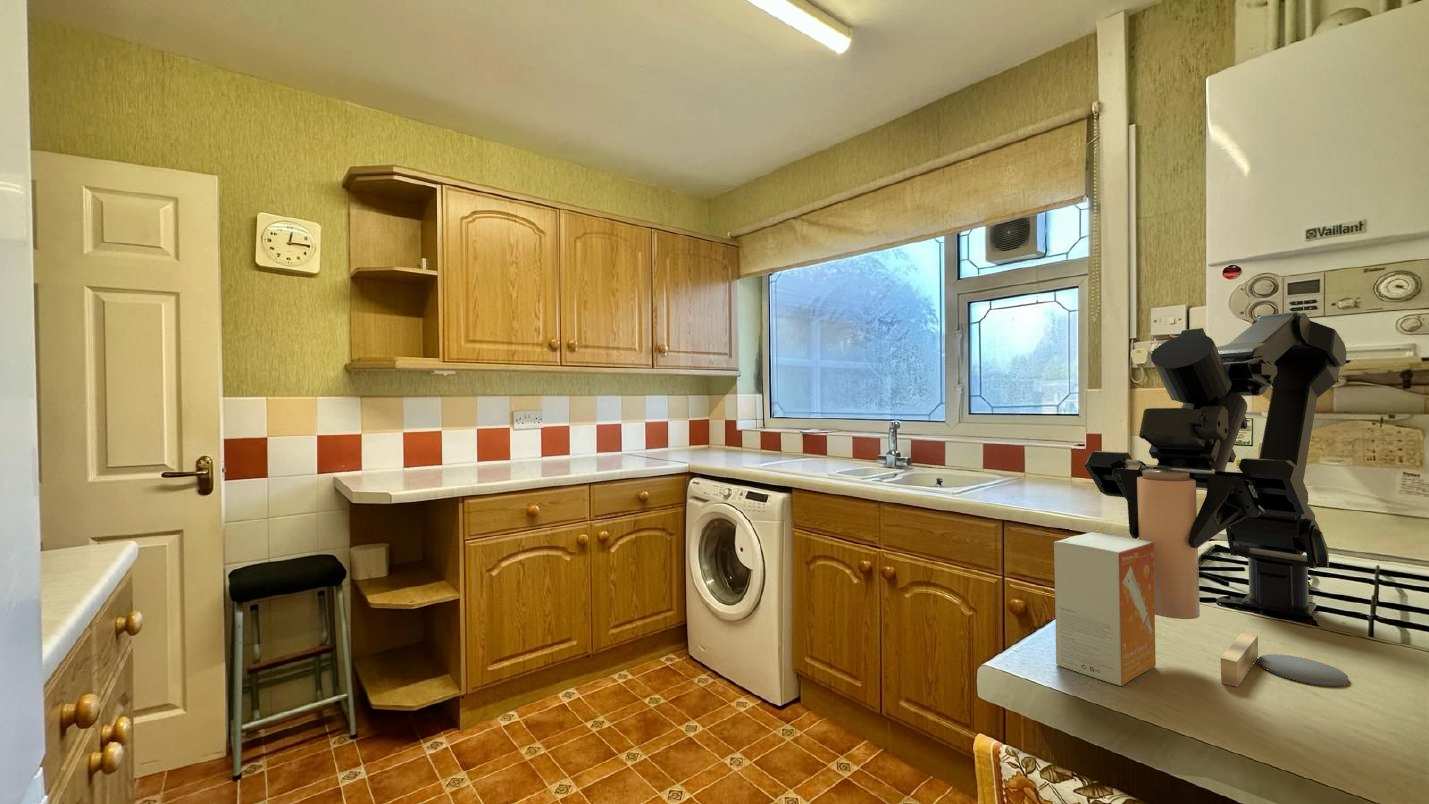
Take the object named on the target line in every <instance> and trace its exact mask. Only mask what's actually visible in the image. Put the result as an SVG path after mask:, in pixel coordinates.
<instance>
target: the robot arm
mask: <svg viewBox="0 0 1429 804" xmlns="http://www.w3.org/2000/svg"><path fill="white" fill-rule="evenodd" d="M1345 344H1346V343H1345V342H1344V341H1343V339H1342V338H1341V336H1340V334H1339V333H1338V332H1337V330H1336V329H1335V328H1332V327H1329V326H1327V325H1323V324H1321V323H1319V322H1316V321H1312V320H1311V319H1310V318H1309V316H1308V315H1307V314H1306V313H1305V312H1301V313H1299V312H1298V311H1291V312H1283V313H1282V312H1281V313H1273V314H1263V315H1261V316H1260V317H1256V318H1254V319H1253V321H1252V324H1251V325H1250V326H1249V327H1248V328H1246V329H1245V330H1244V331H1243V332H1241V333H1240V334H1239V335H1238V336H1236V337H1235V338H1234V339H1233V340H1231V341H1230V342H1229V343H1227V344H1224V345H1219V346H1216V343H1215V341H1214V340H1213V339H1212V337H1210V336H1208V335H1207V334H1206V332H1205V329H1204V328H1202V327H1201V328H1200V327H1199V328H1191V329H1190V328H1189V329H1182V330H1181V332H1180V334H1179V335H1178V336H1176V337H1173V338H1170V339H1168V340H1166V341H1163V342H1162V343H1161V344H1160V345H1159V346H1157V347H1156V348H1153V350H1152V352H1151V355H1150V359H1151V362H1152V364H1153V366H1154V368H1155V370H1156V372H1157V374H1158V376H1159V378H1160V380H1161V382H1162V384H1163V386H1164V388H1165V390H1166V392H1167V395H1168V396H1169V398H1170V399H1171V400H1172V401H1176V402H1179V403H1182V406H1181V407H1151V408H1144V410H1143V413H1142V419H1141V424H1140V427H1139V428H1140V429H1139V433H1138V437H1139V438H1140V439H1142V440H1145V441H1146V442H1147V443H1148V444H1150V448H1149V450H1148V453H1149V455H1150V457H1151V459H1152V460H1153V459H1154V460H1155V459H1156V460H1157V461H1158V462H1157V464H1149V463H1148V464H1147V463H1145V462H1144V461H1141V460H1140V459H1139V460H1138V459H1133V458H1132V456H1131V455H1130V453H1129V452H1125V451H1124V452H1123V451H1107V450H1106V451H1103V450H1098V451H1097V450H1095V451H1091V453H1090V454H1089V455H1088V457H1087V459H1086V461H1085V464H1084V467H1085V469H1086V470H1087V473H1089V475H1090V478H1091V479H1092V480H1093V482H1094V484H1095V485H1096V486H1097V489H1098V490H1099V492H1100V493H1102V494H1103V495H1105V496H1108V497H1116V498H1124V499H1125V500H1126V502H1127V514H1128V532H1129V535H1130V536H1131V538H1132V539H1139V532H1138V497H1137V477H1143V474H1142V470H1152V469H1159V470H1179V471H1187V472H1190V479H1194V480H1196V491H1206V495H1205V498H1204V500H1203V502H1202V505H1201V507H1200V509H1199V511H1198V512H1197V518H1196V520H1195V522H1194V524H1193V527H1192V529H1191V533H1190V536H1189V540H1188V542H1189V544H1190V546H1191V547H1192V548H1197V547H1198V548H1199V547H1200V546H1201V545H1204V543H1206V542H1208V541H1209V540H1210V539H1212V538H1214V537H1215V536H1217V535H1218V534H1219V533H1221V532H1223V531H1224V530H1225V533H1226V537H1227V543H1228V548H1229V553H1230V556H1234V557H1238V556H1239V557H1242V558H1243V557H1244V558H1247V559H1248V560H1247V562H1248V564H1247V565H1248V591H1249V593H1247V595H1246V596H1245V597H1244V598H1242V600H1241V605H1243V606H1246V607H1247V606H1248V607H1252V608H1256V609H1257V608H1258V609H1262V610H1268V611H1273V612H1279V613H1285V614H1289V615H1296V616H1301V617H1307V618H1310V617H1311V616H1312V614H1313V612H1315V609H1316V608H1317V603H1316V602H1313V601H1309V599H1310V598H1309V574H1308V573H1309V569H1308V568H1310V569H1318V568H1320V569H1321V568H1322V569H1323V568H1324V569H1328V568H1329V567H1330V560H1329V557H1330V556H1329V548H1328V546H1327V542H1326V541H1325V537H1324V533H1323V532H1322V531H1321V528H1320V527H1319V524H1318V522H1317V520H1316V514H1315V512H1314V511H1313V510H1312V507H1310V505H1309V492H1308V490H1307V489H1308V488H1307V487H1306V484H1305V481H1304V479H1305V473H1306V468H1307V463H1308V462H1307V460H1308V455H1309V450H1310V444H1311V437H1312V431H1313V426H1314V419H1315V414H1316V407H1317V402H1318V398H1319V397H1320V396H1322V395H1323V394H1324V393H1326V392H1327V391H1328V390H1329V389H1331V388H1332V387H1333V386H1334V385H1336V384H1337V382H1338V378H1339V374H1340V370H1341V367H1344V366H1345V365H1346V363H1347V349H1346V345H1345ZM1270 386H1271V395H1270V399H1269V405H1268V410H1267V414H1266V421H1265V426H1264V431H1263V437H1262V442H1261V447H1260V452H1259V458H1253V457H1251V458H1248V457H1246V458H1245V457H1244V458H1241V459H1240V462H1239V464H1238V469H1239V471H1240V472H1235V471H1226V468H1227V465H1228V463H1233V464H1234V463H1235V460H1236V457H1237V455H1236V453H1235V451H1234V447H1235V443H1236V440H1237V438H1238V435H1239V432H1240V430H1246V429H1248V419H1247V417H1246V414H1247V411H1248V403H1247V401H1246V399H1245V398H1244V397H1260V396H1262V395H1263V394H1264V393H1265V392H1266V391H1267V389H1268V388H1269V387H1270ZM1304 553H1306V554H1304Z"/></svg>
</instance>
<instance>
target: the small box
mask: <svg viewBox="0 0 1429 804" xmlns="http://www.w3.org/2000/svg"><path fill="white" fill-rule="evenodd" d="M1053 551H1054V552H1053V557H1054V559H1053V561H1054V563H1053V565H1054V566H1053V567H1054V603H1055V605H1054V606H1055V608H1054V609H1055V610H1054V611H1055V612H1054V613H1055V615H1054V616H1055V664H1056V665H1057V666H1059V667H1062V668H1065V669H1068V670H1071V671H1073V672H1077V673H1080V674H1082V675H1085V676H1089V677H1091V678H1094V679H1098V680H1100V681H1104V682H1107V683H1110V684H1113V685H1116V686H1120V687H1123V686H1124V685H1126V684H1127V683H1128V682H1130V681H1131V680H1133V679H1135V678H1137V677H1139V676H1140V675H1142V674H1144V673H1146V672H1147V671H1149V670H1151V669H1154V668H1155V667H1156V666H1157V665H1156V664H1157V663H1156V659H1157V658H1156V617H1155V616H1156V615H1155V601H1154V542H1150V541H1145V540H1139V538H1137V539H1134V538H1132V537H1125V536H1120V535H1119V536H1118V535H1113V534H1107V533H1106V534H1105V533H1100V532H1096V531H1095V532H1094V531H1091V532H1087V533H1083V534H1079V535H1073V536H1069V537H1066V538H1064V539H1059V540H1055V541H1053Z"/></svg>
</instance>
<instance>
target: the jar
mask: <svg viewBox="0 0 1429 804" xmlns="http://www.w3.org/2000/svg"><path fill="white" fill-rule="evenodd" d="M1142 474H1143V477H1137V497H1138V532H1139V537H1138V540H1145V541H1150V542H1154V601H1155V616H1159V617H1163V618H1169V619H1177V620H1178V619H1179V620H1194V619H1195V620H1196V619H1198V618H1200V616H1201V614H1200V613H1201V612H1200V611H1201V609H1200V607H1201V606H1200V575H1199V547H1197V548H1192V547H1191V546H1190V544H1189V542H1188V540H1189V536H1190V533H1191V529H1192V527H1193V524H1194V522H1195V520H1196V518H1197V515H1198V507H1197V506H1198V503H1197V502H1198V501H1197V490H1196V480H1194V479H1190V472H1187V471H1179V470H1159V469H1152V470H1142Z"/></svg>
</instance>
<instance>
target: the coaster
mask: <svg viewBox="0 0 1429 804" xmlns="http://www.w3.org/2000/svg"><path fill="white" fill-rule="evenodd" d="M1257 661H1259V662H1258V664H1259V663H1260V665H1261V666H1262V667H1263V668H1265V669H1268V670H1269V671H1271V672H1273V673H1275V674H1274V675H1276V674H1277V675H1276V676H1278V675H1280V676H1279V677H1281V676H1282V678H1284V677H1287V678H1290V679H1289V680H1291V679H1294V680H1296V681H1295V682H1298V681H1301V682H1300V683H1303V682H1305V683H1304V684H1308V683H1309V685H1313V684H1314V685H1316V686H1319V687H1321V686H1322V687H1323V686H1324V687H1342V686H1345V685H1344V684H1346V683H1347V682H1348V683H1349V676H1348V674H1346V673H1345V672H1344V671H1342V670H1341V669H1338V668H1337V667H1335V666H1332V665H1330V664H1326V663H1323V662H1320V661H1317V660H1313V659H1309V658H1306V657H1301V656H1294V655H1287V654H1264V655H1260V656H1258V659H1257ZM1260 665H1259V666H1260ZM1261 666H1260V667H1261ZM1262 667H1261V668H1262ZM1263 668H1262V669H1263ZM1265 669H1264V670H1265ZM1269 671H1268V672H1269ZM1271 672H1270V673H1271ZM1273 673H1272V674H1273ZM1287 678H1286V679H1287ZM1294 680H1293V681H1294ZM1297 680H1298V681H1297ZM1348 683H1347V684H1348ZM1347 684H1346V685H1347ZM1314 685H1313V686H1314Z"/></svg>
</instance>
